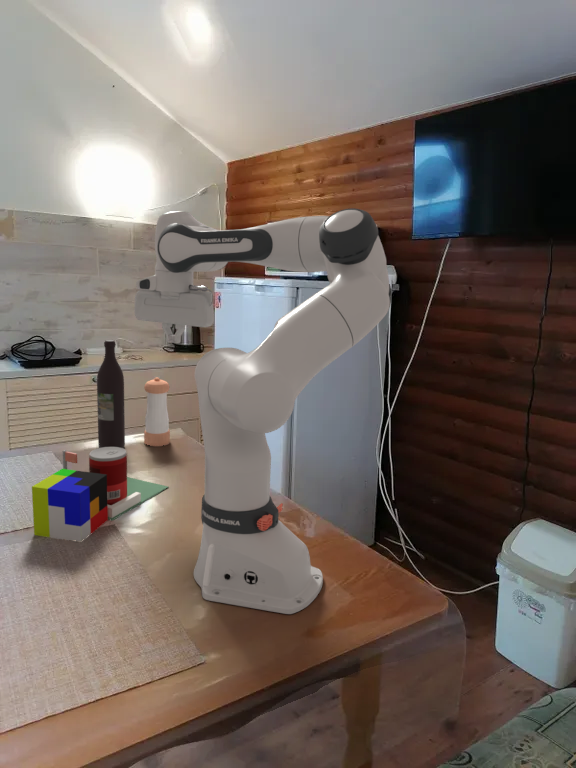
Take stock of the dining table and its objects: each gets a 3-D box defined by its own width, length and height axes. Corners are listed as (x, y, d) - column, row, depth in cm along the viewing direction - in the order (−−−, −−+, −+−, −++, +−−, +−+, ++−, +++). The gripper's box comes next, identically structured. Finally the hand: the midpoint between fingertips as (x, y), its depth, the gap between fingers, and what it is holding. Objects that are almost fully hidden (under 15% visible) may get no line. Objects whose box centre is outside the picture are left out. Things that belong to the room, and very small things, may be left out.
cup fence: (140, 501, 131) (140, 449, 128) (112, 517, 122) (111, 462, 120) (92, 489, 136) (91, 439, 133) (62, 504, 127) (60, 451, 125)
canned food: (133, 495, 134) (133, 448, 131) (115, 509, 126) (114, 460, 124) (103, 490, 136) (102, 444, 133) (83, 504, 128) (81, 455, 126)
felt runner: (168, 487, 140) (168, 486, 140) (111, 520, 122) (111, 519, 122) (120, 476, 145) (120, 475, 145) (59, 506, 127) (59, 505, 127)
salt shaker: (146, 447, 167) (145, 380, 163) (142, 439, 173) (142, 375, 169) (172, 445, 169) (172, 379, 165) (167, 437, 176) (167, 374, 172)
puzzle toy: (81, 542, 112) (79, 493, 110) (34, 535, 114) (31, 486, 112) (107, 520, 122) (106, 474, 120) (63, 514, 124) (62, 468, 122)
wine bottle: (96, 444, 167) (93, 339, 160) (122, 442, 170) (120, 338, 164) (100, 452, 161) (98, 343, 154) (127, 449, 164) (125, 342, 157)
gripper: (219, 286, 137) (218, 345, 140) (146, 280, 145) (146, 336, 148) (205, 287, 131) (204, 349, 134) (130, 281, 139) (130, 339, 142)
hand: (173, 342), depth 141 cm, fingers closed
